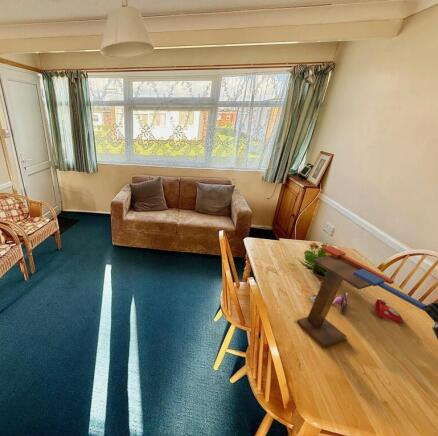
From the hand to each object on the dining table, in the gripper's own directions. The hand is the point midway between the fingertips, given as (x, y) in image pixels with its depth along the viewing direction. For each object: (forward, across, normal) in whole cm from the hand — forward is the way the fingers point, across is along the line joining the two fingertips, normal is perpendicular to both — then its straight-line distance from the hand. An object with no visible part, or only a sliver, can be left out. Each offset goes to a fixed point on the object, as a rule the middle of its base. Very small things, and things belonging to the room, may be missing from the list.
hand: (429, 304), depth 59 cm
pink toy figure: (+7, +26, -47) cm, 54 cm away
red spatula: (+18, +10, -16) cm, 26 cm away
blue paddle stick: (+5, 0, -5) cm, 7 cm away
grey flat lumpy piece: (+11, +19, -49) cm, 54 cm away
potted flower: (+23, +40, -56) cm, 73 cm away
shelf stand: (+1, +5, -43) cm, 43 cm away
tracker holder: (-2, +42, -43) cm, 60 cm away
